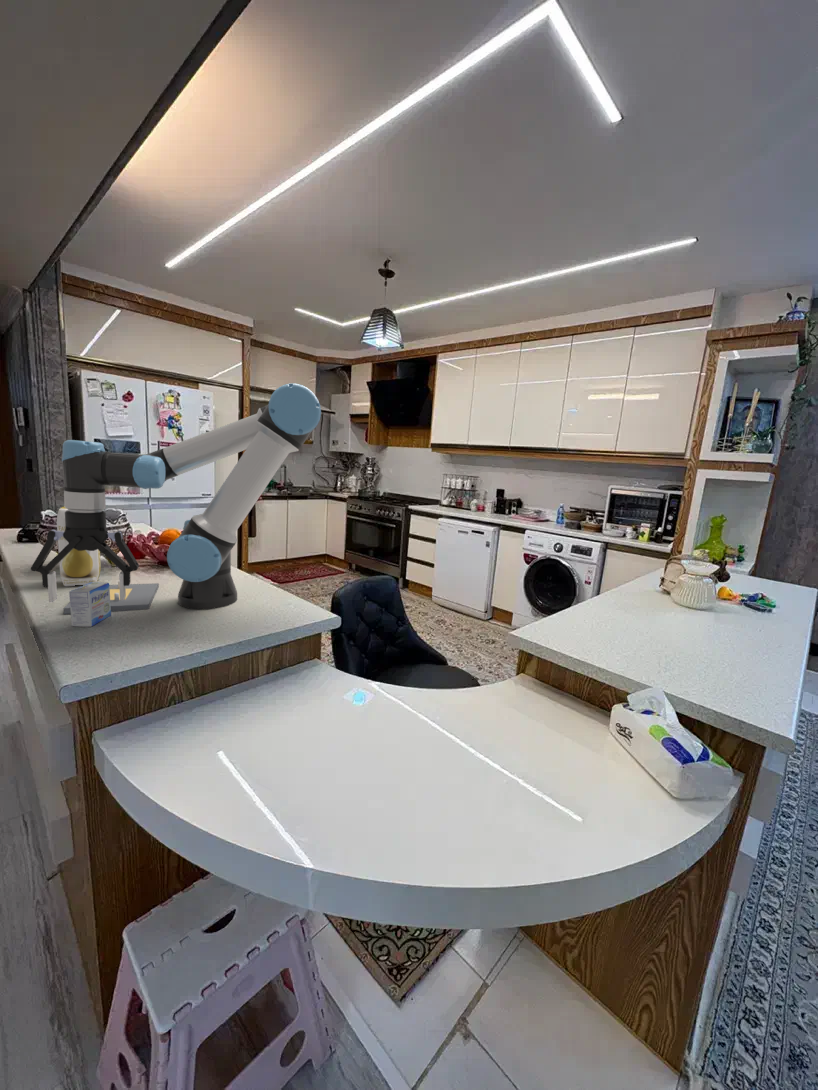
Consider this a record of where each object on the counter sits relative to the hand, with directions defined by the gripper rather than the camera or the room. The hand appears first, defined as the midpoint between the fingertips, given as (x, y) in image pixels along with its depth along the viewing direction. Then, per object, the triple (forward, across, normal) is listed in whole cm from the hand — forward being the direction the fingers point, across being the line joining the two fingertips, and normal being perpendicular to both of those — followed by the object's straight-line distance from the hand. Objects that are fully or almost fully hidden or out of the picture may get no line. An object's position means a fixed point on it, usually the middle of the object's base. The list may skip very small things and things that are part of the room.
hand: (88, 599), depth 103 cm
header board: (+5, -2, -16) cm, 17 cm away
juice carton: (+6, +10, -34) cm, 36 cm away
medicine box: (+6, 0, 0) cm, 6 cm away
